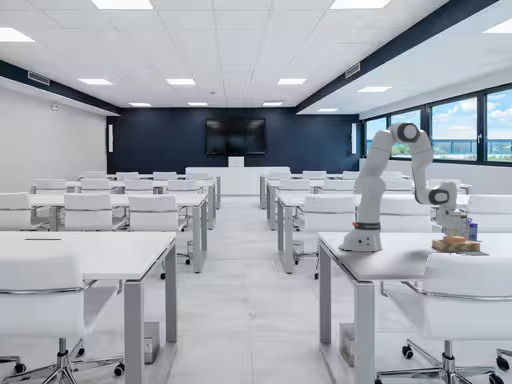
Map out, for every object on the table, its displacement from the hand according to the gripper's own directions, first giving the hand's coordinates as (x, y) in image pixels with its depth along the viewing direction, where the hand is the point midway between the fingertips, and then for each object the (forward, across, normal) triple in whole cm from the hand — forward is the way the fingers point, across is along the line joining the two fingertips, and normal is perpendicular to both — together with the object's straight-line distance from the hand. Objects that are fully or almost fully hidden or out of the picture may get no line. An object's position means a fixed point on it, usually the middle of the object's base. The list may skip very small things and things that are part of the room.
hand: (447, 235), depth 230 cm
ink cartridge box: (+6, -3, +13) cm, 14 cm away
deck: (+5, +10, 0) cm, 11 cm away
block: (+1, +8, 0) cm, 8 cm away
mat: (+5, +20, 0) cm, 21 cm away
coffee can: (+6, -20, +16) cm, 26 cm away
